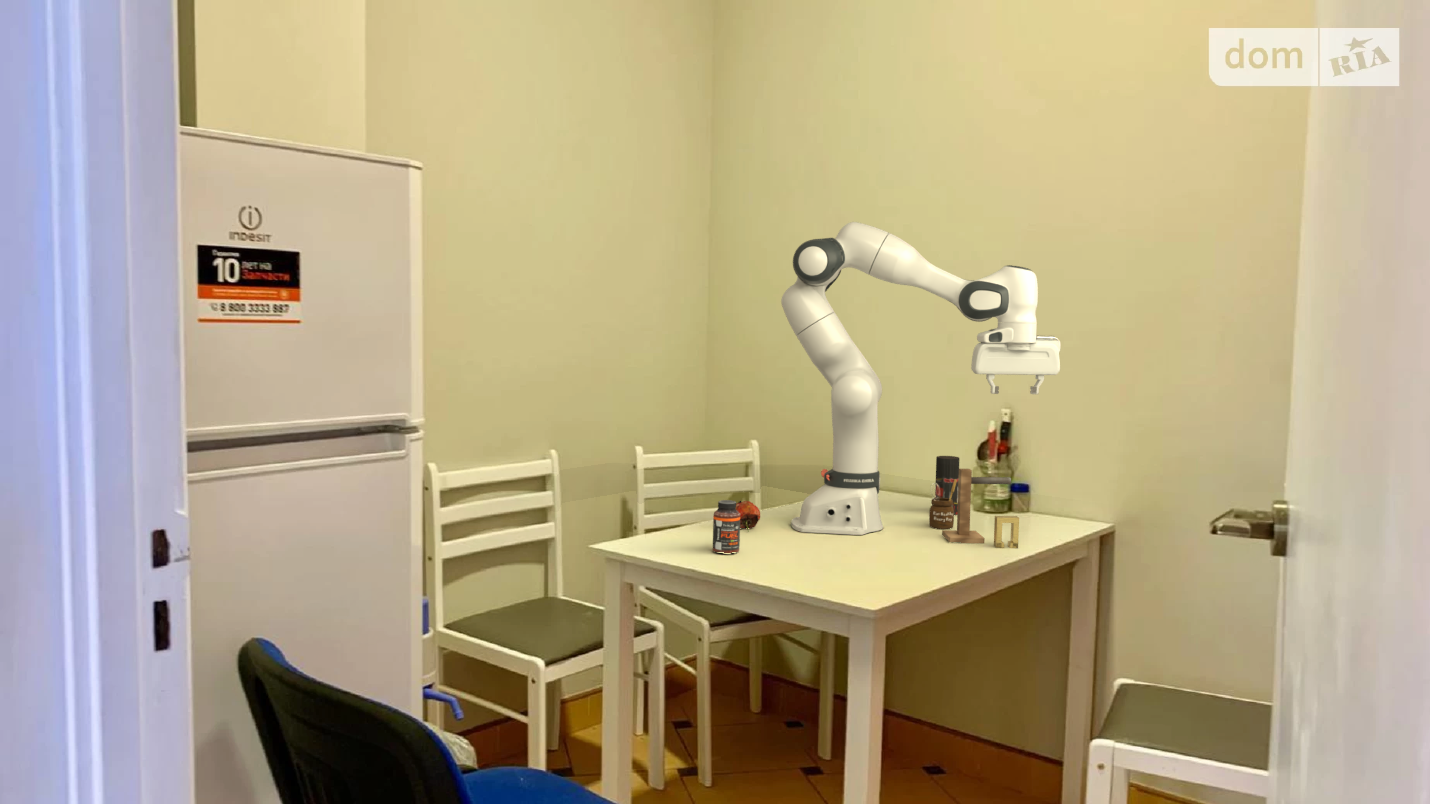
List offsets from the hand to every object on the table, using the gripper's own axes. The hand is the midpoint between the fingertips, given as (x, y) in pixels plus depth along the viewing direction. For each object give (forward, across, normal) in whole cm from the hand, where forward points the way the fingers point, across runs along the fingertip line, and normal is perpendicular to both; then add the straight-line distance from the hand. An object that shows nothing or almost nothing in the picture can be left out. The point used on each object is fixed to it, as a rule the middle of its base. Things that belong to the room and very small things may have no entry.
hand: (1014, 393), depth 242 cm
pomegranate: (+34, +63, -4) cm, 72 cm away
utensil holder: (+34, +14, -9) cm, 38 cm away
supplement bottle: (+34, +68, +19) cm, 79 cm away
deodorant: (+34, +9, -26) cm, 44 cm away
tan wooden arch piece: (+34, +4, +11) cm, 36 cm away
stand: (+34, +9, +4) cm, 35 cm away
